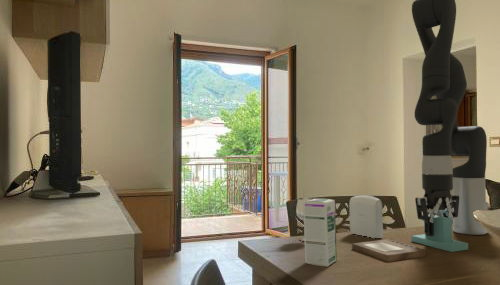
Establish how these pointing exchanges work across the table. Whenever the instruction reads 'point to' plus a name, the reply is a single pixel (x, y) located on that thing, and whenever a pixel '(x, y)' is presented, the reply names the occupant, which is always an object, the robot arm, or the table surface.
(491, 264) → the table surface
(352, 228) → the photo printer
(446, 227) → the stub
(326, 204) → the syrup box
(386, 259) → the board
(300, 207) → the wineglass
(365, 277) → the table surface
